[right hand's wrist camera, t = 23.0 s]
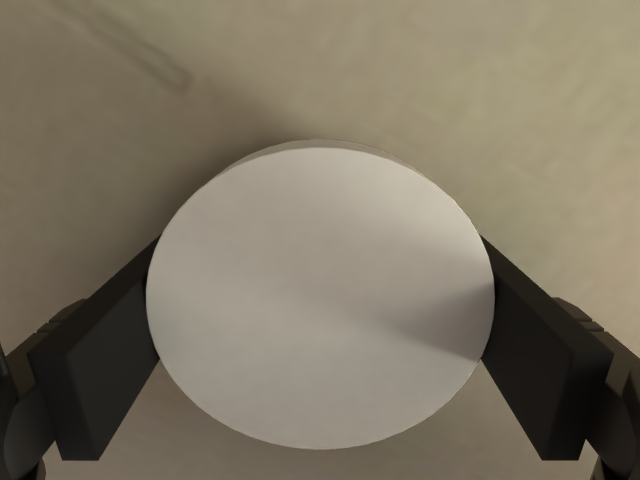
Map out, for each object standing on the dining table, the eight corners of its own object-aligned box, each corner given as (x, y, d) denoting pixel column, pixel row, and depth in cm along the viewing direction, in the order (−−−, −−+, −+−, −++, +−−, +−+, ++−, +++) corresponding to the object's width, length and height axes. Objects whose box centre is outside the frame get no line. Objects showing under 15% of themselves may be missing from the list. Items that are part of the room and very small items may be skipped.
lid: (142, 364, 13) (117, 402, 11) (211, 84, 10) (190, 82, 8) (394, 436, 14) (404, 480, 12) (530, 207, 11) (566, 226, 9)
